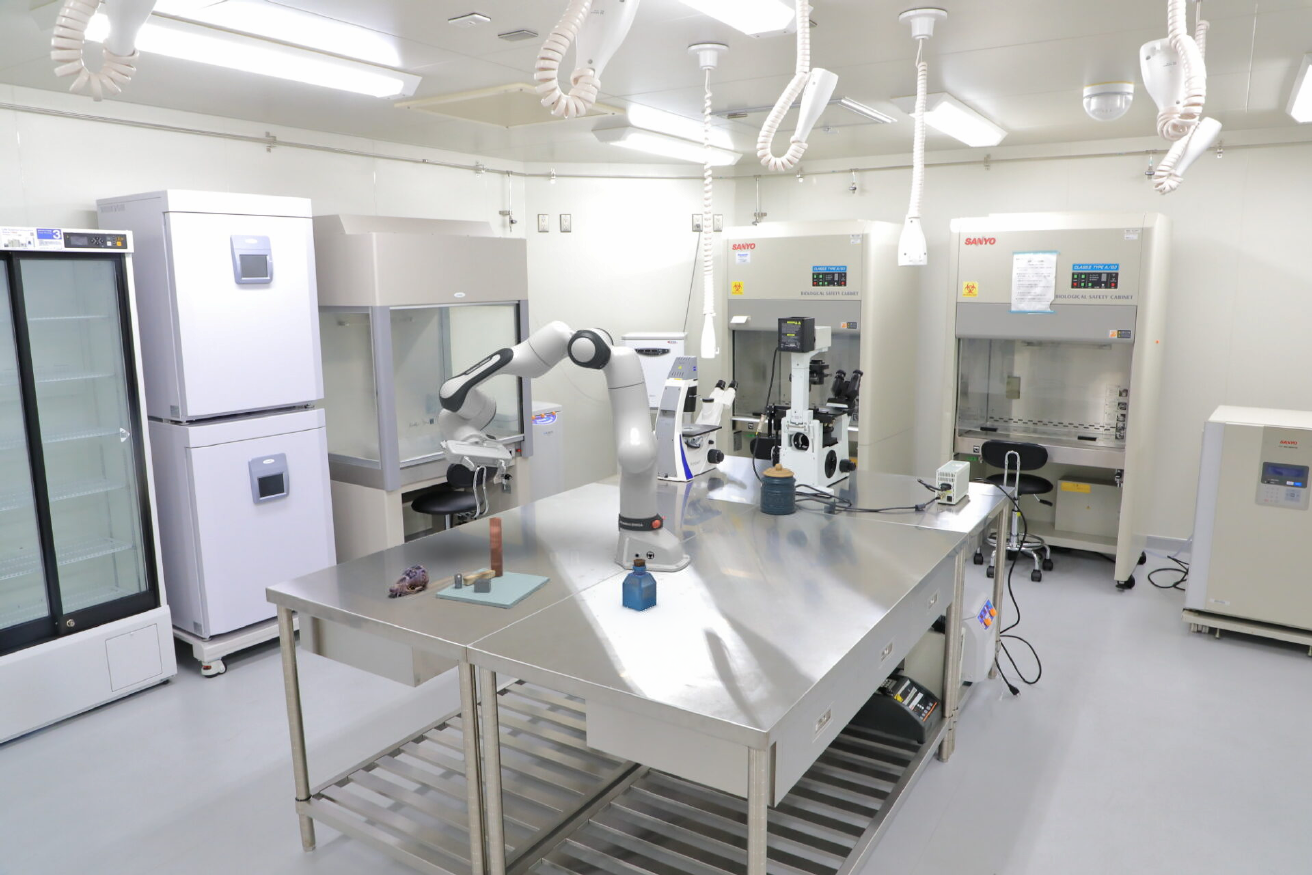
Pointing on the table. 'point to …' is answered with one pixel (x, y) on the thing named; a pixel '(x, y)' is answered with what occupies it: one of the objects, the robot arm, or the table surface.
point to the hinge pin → (458, 581)
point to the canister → (778, 491)
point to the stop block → (482, 585)
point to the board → (497, 590)
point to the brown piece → (495, 554)
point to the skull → (411, 581)
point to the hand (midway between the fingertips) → (489, 470)
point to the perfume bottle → (639, 588)
